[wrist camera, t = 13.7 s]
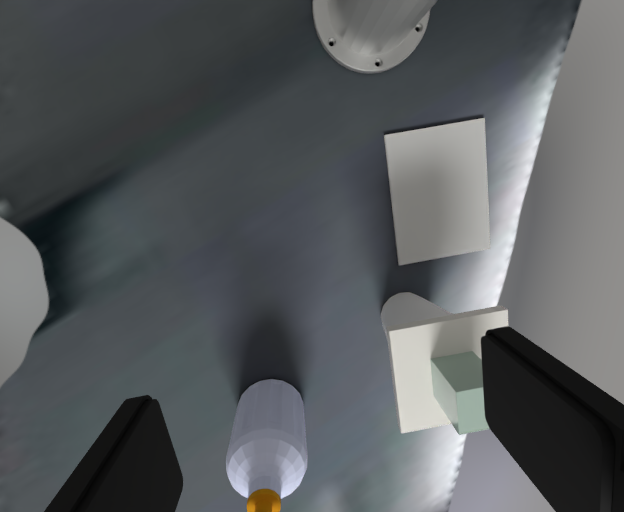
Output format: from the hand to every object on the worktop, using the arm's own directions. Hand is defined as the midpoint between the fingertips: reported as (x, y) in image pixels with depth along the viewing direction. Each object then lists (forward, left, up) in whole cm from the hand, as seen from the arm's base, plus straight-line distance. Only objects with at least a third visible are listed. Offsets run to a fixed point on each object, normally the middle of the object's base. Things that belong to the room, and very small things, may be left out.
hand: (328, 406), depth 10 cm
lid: (+14, +12, -20) cm, 27 cm away
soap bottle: (+24, -8, -34) cm, 42 cm away
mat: (-1, +18, -33) cm, 38 cm away
